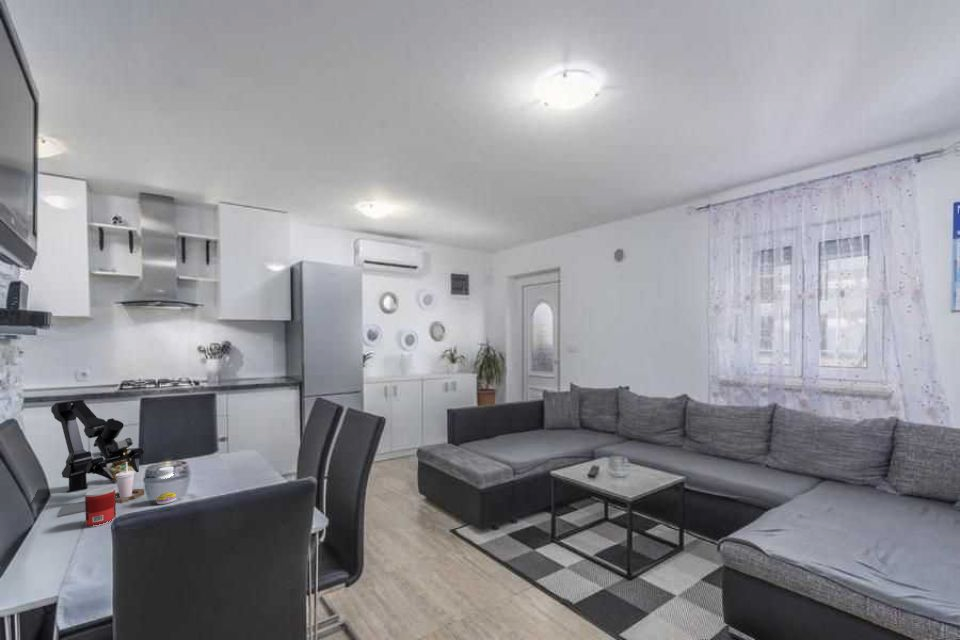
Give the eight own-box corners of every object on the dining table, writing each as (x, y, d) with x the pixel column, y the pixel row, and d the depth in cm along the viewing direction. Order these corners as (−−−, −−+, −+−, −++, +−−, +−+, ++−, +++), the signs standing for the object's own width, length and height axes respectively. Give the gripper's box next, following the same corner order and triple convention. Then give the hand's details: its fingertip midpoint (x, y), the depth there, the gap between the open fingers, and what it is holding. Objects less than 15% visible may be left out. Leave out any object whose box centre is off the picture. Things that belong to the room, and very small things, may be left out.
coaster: (63, 507, 169) (63, 505, 169) (103, 498, 176) (103, 497, 176) (58, 517, 159) (58, 515, 159) (101, 507, 167) (101, 506, 167)
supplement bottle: (166, 505, 166) (165, 471, 166) (151, 504, 167) (150, 470, 168) (181, 498, 173) (180, 465, 173) (167, 497, 174) (166, 465, 174)
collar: (107, 495, 179) (107, 493, 179) (144, 488, 187) (144, 485, 187) (105, 506, 168) (105, 503, 168) (144, 498, 175) (144, 495, 175)
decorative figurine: (106, 485, 193) (105, 451, 193) (110, 480, 200) (109, 447, 200) (134, 480, 198) (133, 447, 198) (137, 475, 205) (136, 443, 205)
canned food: (121, 518, 155) (120, 487, 156) (95, 528, 148) (94, 495, 148) (106, 516, 158) (106, 485, 158) (80, 526, 150) (79, 494, 151)
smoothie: (139, 494, 179) (138, 460, 179) (121, 500, 173) (120, 465, 173) (130, 493, 181) (129, 459, 182) (112, 498, 176) (111, 464, 176)
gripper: (88, 439, 171) (106, 469, 167) (141, 428, 188) (158, 455, 184) (77, 458, 174) (95, 488, 169) (130, 445, 191) (147, 472, 187)
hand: (125, 475), depth 177 cm, fingers open, 9 cm apart
